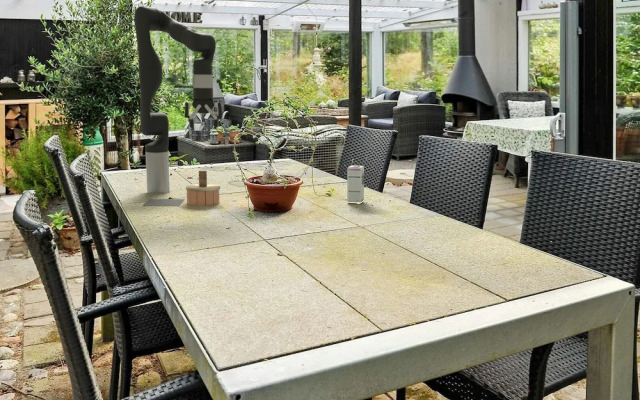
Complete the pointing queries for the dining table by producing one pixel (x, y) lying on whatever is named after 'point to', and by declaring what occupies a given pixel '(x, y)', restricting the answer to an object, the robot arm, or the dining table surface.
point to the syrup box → (355, 183)
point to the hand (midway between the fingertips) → (204, 129)
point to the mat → (164, 202)
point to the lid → (202, 183)
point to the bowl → (202, 197)
